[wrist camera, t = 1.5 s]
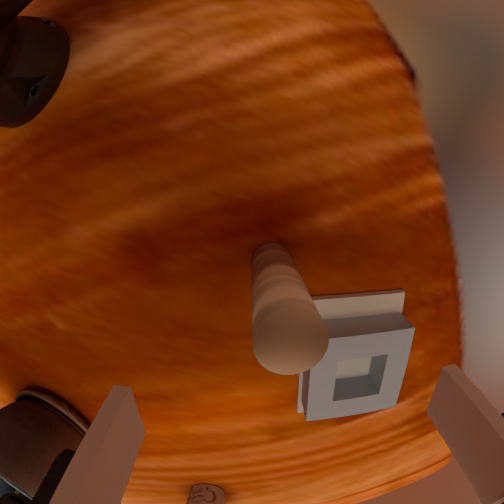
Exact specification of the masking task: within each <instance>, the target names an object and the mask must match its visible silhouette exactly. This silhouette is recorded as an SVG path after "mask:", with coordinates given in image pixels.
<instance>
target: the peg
mask: <svg viewBox="0 0 504 504" xmlns="http://www.w3.org/2000/svg"><path fill="white" fill-rule="evenodd" d="M251 264H252V327H253V351H254V355H255V357H256V359H257V360H258V362H259V363H260V364H261V365H262V366H263V367H264V368H266V369H267V370H269V371H271V372H273V373H277V374H281V375H293V374H298V373H302V372H305V371H307V370H309V369H311V368H312V367H314V366H315V365H316V364H317V363H318V362H320V360H321V359H322V358H323V357H324V355H325V353H326V351H327V348H328V344H329V334H328V331H327V328H326V326H325V324H324V322H323V320H322V318H321V316H320V314H319V312H318V310H317V308H316V306H315V304H314V302H313V300H312V298H311V296H310V293H309V291H308V289H307V287H306V285H305V283H304V281H303V279H302V277H301V276H300V274H299V272H298V270H297V268H296V266H295V264H294V262H293V260H292V258H291V256H290V254H289V252H288V250H287V249H286V248H285V247H284V246H282V245H281V244H278V243H274V242H270V243H265V244H263V245H261V246H259V247H258V248H257V249H256V250H255V252H254V253H253V256H252V262H251Z"/></svg>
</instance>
